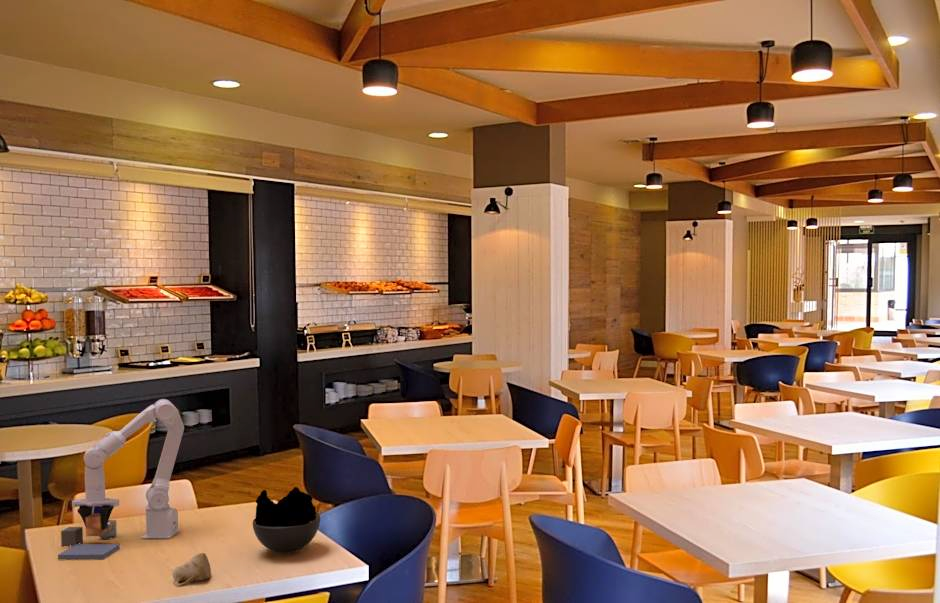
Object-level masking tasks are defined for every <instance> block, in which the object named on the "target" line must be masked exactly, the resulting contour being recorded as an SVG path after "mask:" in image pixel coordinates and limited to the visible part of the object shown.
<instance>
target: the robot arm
mask: <svg viewBox="0 0 940 603" xmlns="http://www.w3.org/2000/svg"><path fill="white" fill-rule="evenodd" d="M157 420H159V421H160V422H161V423H163V424H164V425H165V428H166V429H167V433H166V436H165V440H164V443H163V447H162V451H161V454H160V458H159V461H158V465H157V469H156V471H155V475H154V478H153V480H152V482H151V485H150V487H149V488H148V489H147V491H146V493H145V498H146V501H147V503H148V504H147V506H146V507H145V525H146V526H145V528H146V533H145V534H144V535H142V536H141V537H140V538H141V539H170V538H172V537H173V536H175V535H176V534H178V533H179V532H180V529H179V515H178V514H179V512H178V510H177V508H176V507H175V508H174V507H170V504H169V501H170V499H169V490H170V481H171V477H172V473H173V470H174V466H175V462H176V459H177V455H178V452H179V449H180V446H181V441H182V438H183V435H184V432H185V431H184V430H185V424H184V422H183V420H182V417H181V414H180V410H178V408H177V407H176V406H175V405H174V404H173V403H172V402H171V401H170V400H169V399H166V398H160V399H158V400H157V401H156V402H154V404H151V405H149V406H147V407H146V408H145V409H144V410H142V411H140V413H139V414H137V415H136V416H135V417H134V418H133V419H132V420H130V421H129V422H128V423H127V424H126V425H125V426H124V427H123V428H121V429H119V430H118V431H117V430H113V431H111V432H107V433H105V437H104V438H102V439H101V440H100V441H98V442H97V443H94V444H93V445H92V446H93V447H91V448H89V449H87V450H86V451H85V453H84V455H83V461H84V462H83V463H84V464H85V466H84V471H85V472H84V490H85V491H84V494H85V498H82V499H74V500H72V501H71V507H72V508H77V507H78V509H77V513H78V514H79V516H80V517H81V520H82V521H83V525H84V527H85V528H86V517H87V516H89V515H91V514H92V508H93V506H102V507H101V508H100V509H99V512H100V516H101V528H102V530H104V529H106V528H107V525H108V520H110V518H111V514H112V512H113V510H114V508H115V507H116V508H117V507H118V506H120V498H107V497H106V482H105V480H106V477H105V470H104V463H105V460H106V459H109V458H110V457H111V456H113V455H114V454H115V453H117V452H118V451H119V450H120V449H122V448H123V446H125V445H126V439H128V438H129V437H131V435H132V434H134V433H135V432H137V431H138V430H139V429H141V428H142V427H144V426H145V425H146V424H149V423H156V422H157Z"/></svg>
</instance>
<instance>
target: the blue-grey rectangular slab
mask: <svg viewBox="0 0 940 603" xmlns="http://www.w3.org/2000/svg"><path fill="white" fill-rule="evenodd" d="M120 546H121V545H120V543H112V544H111V543H105V544H104V543H100V544H99V543H98V544H97V543H96V544H95V543H94V544H92V543H91V544H90V543H89V544H86V543H85V544H82V543H81V544H76V545H74V546H72V547H68V548H67V549H66V550H64V551H62V552H60V553H58V554H57V560H58V559H104V560H105V559H107V558H108V557H110V556H111V555H112V554H114V553H116V552H117V551H119V550H120V549H121V547H120ZM106 557H107V558H106Z"/></svg>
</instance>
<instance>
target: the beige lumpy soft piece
mask: <svg viewBox="0 0 940 603" xmlns="http://www.w3.org/2000/svg"><path fill="white" fill-rule="evenodd" d="M208 558H209V557H207V554H206V553H205V552H201V553H198V554H195V555H194V556H192V557H191V558H190V559H189V560H187V561H186V562H185V563H184V564H182V565H179V566H176V567H175V568H174V569H173V570H172V577H173V580H174V581H175V582H174V586H175V587H184V586H186V585H187V584H189V583H191V582H193V581H198V582H200V581H205V580H208V579H209V578H211V576H212V571H211V569H212V568H211V563H210V561H209V559H208ZM180 582H181V583H180Z"/></svg>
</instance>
